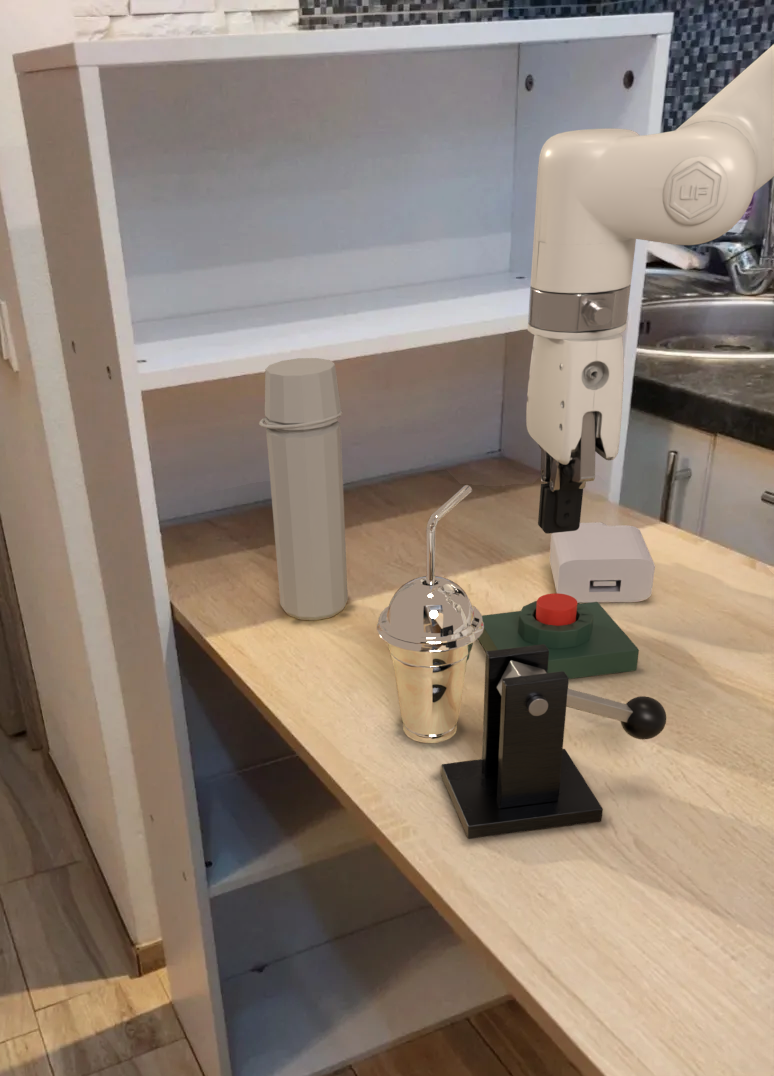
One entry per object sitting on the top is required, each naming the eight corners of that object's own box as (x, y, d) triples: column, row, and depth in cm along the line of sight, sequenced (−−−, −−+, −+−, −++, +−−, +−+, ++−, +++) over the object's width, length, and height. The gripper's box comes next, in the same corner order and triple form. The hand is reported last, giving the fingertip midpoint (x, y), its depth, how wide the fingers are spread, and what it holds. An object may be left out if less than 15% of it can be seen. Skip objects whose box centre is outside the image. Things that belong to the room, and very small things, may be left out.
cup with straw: (362, 717, 90) (354, 499, 79) (453, 691, 92) (456, 476, 82) (409, 767, 83) (406, 536, 72) (505, 737, 85) (516, 510, 75)
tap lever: (641, 728, 78) (663, 694, 77) (659, 752, 76) (682, 716, 74) (491, 688, 75) (510, 651, 73) (504, 711, 72) (524, 673, 71)
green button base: (595, 621, 101) (599, 584, 99) (636, 670, 93) (641, 631, 91) (476, 635, 101) (477, 599, 99) (506, 686, 92) (508, 647, 90)
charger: (627, 543, 116) (650, 602, 104) (544, 544, 118) (556, 603, 105) (632, 503, 114) (656, 558, 101) (546, 505, 115) (559, 560, 103)
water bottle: (364, 609, 107) (356, 365, 94) (301, 631, 104) (283, 382, 91) (317, 580, 114) (303, 349, 101) (256, 600, 111) (234, 364, 98)
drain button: (567, 608, 96) (569, 591, 96) (581, 625, 93) (583, 608, 92) (530, 612, 96) (531, 595, 95) (543, 629, 93) (544, 612, 92)
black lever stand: (563, 760, 82) (575, 629, 76) (601, 821, 75) (617, 683, 69) (441, 776, 82) (442, 645, 75) (468, 839, 75) (471, 701, 69)
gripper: (665, 325, 74) (633, 558, 84) (589, 288, 87) (570, 495, 97) (564, 334, 74) (544, 567, 84) (502, 296, 87) (492, 502, 96)
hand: (558, 528), depth 90 cm, fingers closed
